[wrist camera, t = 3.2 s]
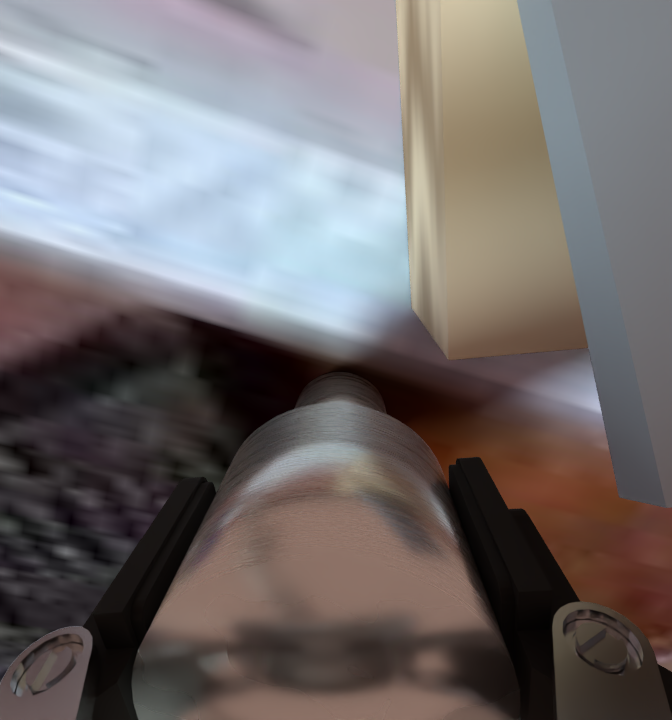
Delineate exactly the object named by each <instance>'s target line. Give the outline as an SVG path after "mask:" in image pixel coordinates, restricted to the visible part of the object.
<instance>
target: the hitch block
mask: <svg viewBox="0 0 672 720" xmlns="http://www.w3.org/2000/svg"><path fill="white" fill-rule="evenodd" d="M396 13H397V33H398V52H399V72H400V92H401V111H402V131H403V151H404V170H405V190H406V210H407V229H408V249H409V269H410V288H411V308H412V309H413V311H414V312H415V313H416V315H417V316H418V318H419V319H420V320H421V322H422V323H423V325H424V326H425V328H426V329H427V330H428V332H429V333H430V335H431V336H432V338H433V339H434V340H435V342H436V343H437V345H438V346H439V347H440V349H441V350H442V352H443V353H444V355H445V356H446V357H447V359H448V360H458V359H469V358H481V357H492V356H503V355H514V354H525V353H537V352H548V351H559V350H570V349H581V348H588V343H587V338H586V333H585V329H584V324H583V319H582V314H581V309H580V304H579V299H578V295H577V290H576V285H575V280H574V275H573V270H572V266H571V261H570V256H569V251H568V246H567V241H566V236H565V232H564V227H563V222H562V217H561V212H560V207H559V203H558V198H557V193H556V188H555V183H554V178H553V173H552V169H551V164H550V159H549V154H548V149H547V144H546V140H545V135H544V130H543V125H542V120H541V115H540V111H539V106H538V101H537V96H536V91H535V86H534V81H533V77H532V72H531V67H530V62H529V57H528V52H527V48H526V43H525V38H524V33H523V28H522V23H521V18H520V14H519V9H518V4H517V0H396Z"/></svg>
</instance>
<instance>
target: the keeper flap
mask: <svg viewBox="0 0 672 720" xmlns="http://www.w3.org/2000/svg"><path fill="white" fill-rule="evenodd" d="M517 4H518V9H519V14H520V18H521V23H522V28H523V33H524V38H525V43H526V48H527V52H528V57H529V62H530V67H531V72H532V77H533V81H534V86H535V91H536V96H537V101H538V106H539V111H540V115H541V120H542V125H543V130H544V135H545V140H546V144H547V149H548V154H549V159H550V164H551V169H552V173H553V178H554V183H555V188H556V193H557V198H558V203H559V207H560V212H561V217H562V222H563V227H564V232H565V236H566V241H567V246H568V251H569V256H570V261H571V266H572V270H573V275H574V280H575V285H576V290H577V295H578V299H579V304H580V309H581V314H582V319H583V324H584V329H585V333H586V338H587V343H588V348H589V353H590V358H591V362H592V367H593V372H594V377H595V382H596V387H597V391H598V396H599V401H600V406H601V411H602V416H603V421H604V425H605V430H606V435H607V440H608V445H609V450H610V454H611V459H612V464H613V469H614V474H615V479H616V484H617V488H618V493H619V497H620V498H625V499H629V500H634V501H638V502H643V503H647V504H652V505H657V506H661V507H666V508H669V507H672V0H517Z"/></svg>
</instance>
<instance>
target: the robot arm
mask: <svg viewBox="0 0 672 720" xmlns="http://www.w3.org/2000/svg"><path fill="white" fill-rule="evenodd" d="M449 491H450V494H451V496H452V499H453V502H454V505H455V507H456V510H457V513H458V516H459V518H460V521H461V524H462V527H463V529H464V532H465V535H466V537H467V540H468V543H469V546H470V548H471V551H472V554H473V557H474V559H475V562H476V565H477V568H478V570H479V573H480V576H481V579H482V581H483V584H484V587H485V590H486V592H487V595H488V598H489V600H490V603H491V606H492V609H493V611H494V614H495V617H496V620H497V622H498V625H499V628H500V631H501V633H502V636H503V639H504V642H505V644H506V647H507V650H508V652H509V655H510V658H511V661H512V663H513V666H514V669H515V672H516V676H517V680H518V684H519V689H520V712H519V719H518V720H672V672H671V671H669V670H667V669H666V668H664V667H662V666H660V665H658V664H657V660H656V657H655V654H654V651H653V649H652V647H651V645H650V643H649V640H648V639H647V638H646V637H645V636H644V634H643V633H642V632H641V631H640V629H639V628H638V627H637V626H635V625H634V624H633V623H632V622H631V621H629V620H628V619H627V618H626V617H624V616H623V615H621V614H619V613H617V612H616V611H614V610H612V609H610V608H607V607H604V606H601V605H599V604H596V603H589V602H580V600H579V599H578V597H577V595H576V594H575V592H574V590H573V589H572V587H571V585H570V584H569V582H568V580H567V579H566V577H565V575H564V574H563V572H562V570H561V569H560V567H559V565H558V564H557V562H556V560H555V559H554V557H553V555H552V554H551V552H550V550H549V549H548V547H547V545H546V544H545V542H544V540H543V539H542V537H541V535H540V534H539V532H538V530H537V529H536V527H535V526H534V524H533V522H532V521H531V519H530V517H529V516H528V514H527V513H526V511H525V510H523V509H508V508H507V506H506V504H505V502H504V500H503V498H502V497H501V495H500V493H499V491H498V489H497V487H496V486H495V484H494V482H493V480H492V478H491V476H490V475H489V473H488V471H487V469H486V467H485V465H484V464H483V462H482V460H481V459H480V457H473V458H459V459H457V460H456V465H449ZM215 495H216V491H215V487H214V484H213V483H212V482H207V480H206V478H204V477H198V478H184V479H182V480H181V481H180V482H179V484H178V485H177V487H176V488H175V490H174V491H173V493H172V494H171V496H170V497H169V499H168V500H167V502H166V503H165V505H164V506H163V508H162V509H161V511H160V512H159V514H158V515H157V517H156V518H155V520H154V521H153V523H152V524H151V526H150V527H149V529H148V530H147V532H146V533H145V535H144V536H143V538H142V539H141V540H140V542H139V543H138V545H137V546H136V548H135V549H134V551H133V552H132V554H131V555H130V557H129V558H128V560H127V561H126V563H125V564H124V566H123V567H122V569H121V570H120V572H119V573H118V575H117V576H116V578H115V579H114V581H113V582H112V584H111V585H110V587H109V588H108V590H107V591H106V593H105V594H104V596H103V597H102V599H101V600H100V602H99V603H98V605H97V606H96V608H95V609H94V611H93V612H92V614H91V615H90V617H89V618H88V620H87V621H86V623H85V624H84V626H83V627H76V626H70V627H66V628H62V629H58V630H56V631H54V632H52V633H49V634H47V635H45V636H44V637H42V638H41V639H39V640H38V641H36V642H34V643H33V644H32V645H30V646H29V647H28V648H27V649H26V650H25V651H23V652H22V653H21V654H20V655H19V656H18V657H17V659H16V660H15V661H14V662H13V663H12V664H11V666H10V667H9V668H8V670H7V672H6V674H5V675H4V677H3V679H2V681H1V683H0V720H138V717H137V713H136V710H135V707H134V703H133V695H132V685H131V684H132V673H133V666H134V662H135V659H136V655H137V652H138V649H139V647H140V645H141V643H142V641H143V639H144V637H145V635H146V633H147V631H148V629H149V627H150V625H151V623H152V621H153V619H154V617H155V615H156V613H157V611H158V609H159V607H160V605H161V603H162V601H163V599H164V597H165V595H166V593H167V591H168V589H169V587H170V585H171V583H172V581H173V579H174V577H175V575H176V573H177V571H178V569H179V567H180V565H181V563H182V561H183V559H184V557H185V555H186V553H187V551H188V549H189V547H190V545H191V543H192V541H193V539H194V537H195V535H196V533H197V531H198V529H199V527H200V525H201V523H202V521H203V519H204V517H205V515H206V513H207V511H208V509H209V507H210V505H211V503H212V501H213V499H214V497H215Z"/></svg>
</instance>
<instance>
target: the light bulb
mask: <svg viewBox="0 0 672 720" xmlns="http://www.w3.org/2000/svg"><path fill="white" fill-rule="evenodd" d="M131 685H132V695H133V703H134V707H135V710H136V713H137V717H138V720H518V719H519V712H520V689H519V684H518V680H517V676H516V672H515V669H514V666H513V663H512V661H511V658H510V655H509V652H508V650H507V647H506V644H505V642H504V639H503V636H502V633H501V631H500V628H499V625H498V622H497V620H496V617H495V614H494V611H493V609H492V606H491V603H490V600H489V598H488V595H487V592H486V590H485V587H484V584H483V581H482V579H481V576H480V573H479V570H478V568H477V565H476V562H475V559H474V557H473V554H472V551H471V548H470V546H469V543H468V540H467V537H466V535H465V532H464V529H463V527H462V524H461V521H460V518H459V516H458V513H457V510H456V507H455V505H454V502H453V499H452V496H451V494H450V491H449V488H448V485H447V483H446V480H445V477H444V475H443V472H442V470H441V467H440V465H439V463H438V460H437V459H436V457H435V456H434V454H433V452H432V451H431V449H430V448H429V447H428V446H427V444H426V443H425V442H424V441H423V440H422V439H421V437H419V436H418V435H417V434H416V433H415V432H414V431H413V430H411V429H410V428H409V427H407V426H406V425H405V424H403V423H402V422H400V421H399V420H397V419H395V418H393V417H391V416H389V415H387V414H386V409H385V404H384V401H383V398H382V396H381V394H380V393H379V391H378V390H377V389H376V387H375V386H374V385H373V384H372V383H370V382H369V381H368V380H366V379H365V378H363V377H361V376H358V375H356V374H352V373H348V372H333V373H328V374H324V375H322V376H319V377H317V378H316V379H314V380H312V381H311V382H310V383H309V384H308V385H307V386H306V387H305V388H304V389H303V390H302V392H301V393H300V395H299V397H298V400H297V403H296V406H295V409H292V410H290V411H287V412H285V413H283V414H280V415H278V416H276V417H274V418H273V419H271V420H269V421H267V422H266V423H264V424H263V425H262V426H260V427H259V428H258V429H257V430H255V431H254V432H253V433H252V434H251V435H250V436H249V437H248V438H247V439H246V440H245V442H244V443H243V444H242V446H241V447H240V449H239V450H238V451H237V453H236V455H235V457H234V459H233V461H232V463H231V465H230V467H229V469H228V471H227V473H226V475H225V477H224V479H223V481H222V483H221V485H220V487H219V489H218V491H217V493H216V495H215V497H214V499H213V501H212V503H211V505H210V507H209V509H208V511H207V513H206V515H205V517H204V519H203V521H202V523H201V525H200V527H199V529H198V531H197V533H196V535H195V537H194V539H193V541H192V543H191V545H190V547H189V549H188V551H187V553H186V555H185V557H184V559H183V561H182V563H181V565H180V567H179V569H178V571H177V573H176V575H175V577H174V579H173V581H172V583H171V585H170V587H169V589H168V591H167V593H166V595H165V597H164V599H163V601H162V603H161V605H160V607H159V609H158V611H157V613H156V615H155V617H154V619H153V621H152V623H151V625H150V627H149V629H148V631H147V633H146V635H145V637H144V639H143V641H142V643H141V645H140V647H139V649H138V652H137V655H136V659H135V662H134V666H133V673H132V684H131Z"/></svg>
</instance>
